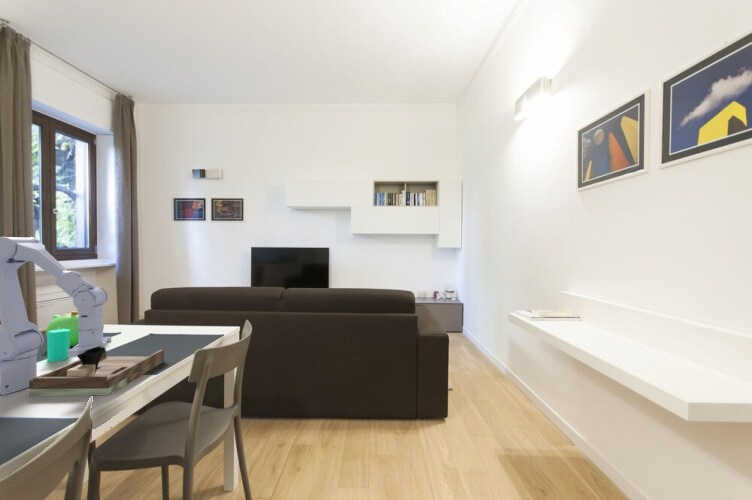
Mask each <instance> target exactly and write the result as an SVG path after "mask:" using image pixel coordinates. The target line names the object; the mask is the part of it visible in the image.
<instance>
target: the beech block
mask: <svg viewBox="0 0 752 500" xmlns="http://www.w3.org/2000/svg"><path fill="white" fill-rule="evenodd" d="M67 377H95V365H77V366H75V367H73V368H71V369H68V370H67Z"/></svg>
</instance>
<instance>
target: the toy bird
mask: <svg viewBox="0 0 752 500" xmlns="http://www.w3.org/2000/svg"><path fill="white" fill-rule="evenodd" d="M52 318H53V319H52V320H51V321H50V322H49V323H48V325H47V327H46V329H45V335H46V337H47V332H49V331H52V330H57V329H58V328H59V329H70V348H71V347H72V348H73V347H75V346H76V345H78V344H79V314H78V313H77V311H74V310H73V311H70V312H67V313H63V314H61V315H60V314H53V315H52ZM104 327H105V324H104V322H103V330H104Z"/></svg>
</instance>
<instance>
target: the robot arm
mask: <svg viewBox="0 0 752 500" xmlns="http://www.w3.org/2000/svg"><path fill="white" fill-rule="evenodd" d="M27 262H32V263H34V264H35V265H36V266H37V267H38V268H41V270H43V271H44V272H46V273H48V274H49V275H51V277H53V278H54V279H55V285H56V286H57V287H58V288H60V289H61V290H62V291H63V292H64V293H66V294H67V295H68V296H70V297H71V298H72V303H73V305H74V307H75V308H76V310H77V313H78V314H79V344H78V345H76V346H73V347H72V348H70V350H68V357H69V358H78V360H79V359H80V360H81V362H82V364H83V365H95V373H96V370H97V367H98V364H99V361H100V358H101V356H102V355H103V353H104V352H105V350H106V347H104V346H106V345H107V344H111V343H112V336H104V329H103V323H104V305H105V304H106V302H107V301H108V298H109V297H108V293H107V291H106V289H104V288H103V287H101V286H100V287H99V286H95V285H94V283H90V281H88V280H87V279H85V278H84V276H83V274H82V273H81V272H80V271H76V270H67V268H66V267H65V266H63V265H62V263H60V262H59V261H58V260H57V259H56V258H55V257H54V256H53V255H52V254H50V252H49V251H47V249H46V245H44V244H43V243H41V242H40V241H39V240H38V239H37V238H35V237H32V236H30V237H10V236H9V237H7V236H0V324H1V326H0V395H2V396H6V395H9V394H12V393H16V392H19V391H21V390H24V389H29V380H31V379H33V378H35V377H38V376H37V374H38V373H37V367H38V366H37V364H38V363H37V362H38V361H37V359H38V358H37V356H38V355H37V354H38V353H39V349H41V348H42V346H43V344H44V341H45V340H44V339H45V338H44V335H43V334H42V333H41V332H40V331H39V328H38V325H37V324H35V323H33V322H32V321H29V317H28V313H27V309H26V306H25V305H26V304H25V300H24V297H23V294H22V293H23V292H22V289H21V284H20V280H19V276H18V272H17V271H18V270H19V268H20V267H21V266H22V265H24V264H25V263H27Z"/></svg>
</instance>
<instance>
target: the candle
mask: <svg viewBox="0 0 752 500" xmlns="http://www.w3.org/2000/svg"><path fill="white" fill-rule="evenodd" d="M46 340H47V342H46V343H47V344H46V346H47V348H46V351H47V353H46V355H47V357H46V358H47V359H46V360H47V361H46V362H50V363H53V362H54V363H55V362H61V361H66V360H68V359H70V357H68V350H70V349H71V347H70V329H59V328H58V329H57V330H52V331H49V332H47V336H46Z"/></svg>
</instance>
